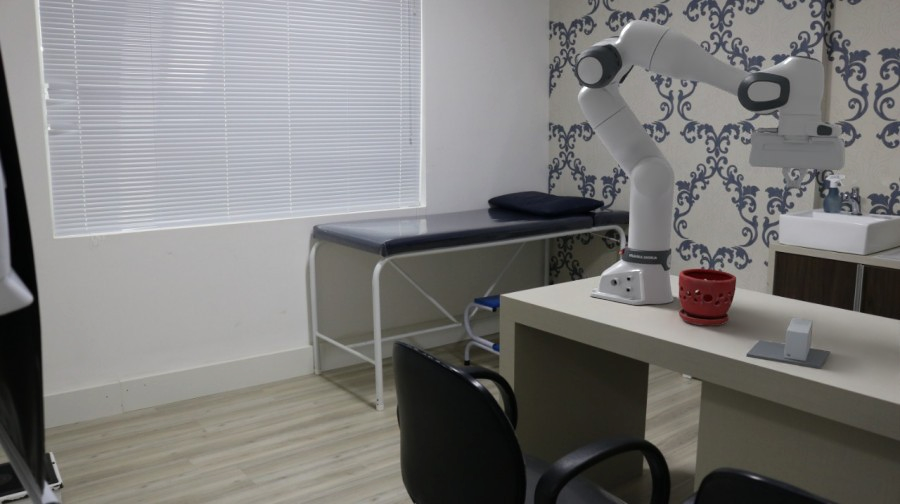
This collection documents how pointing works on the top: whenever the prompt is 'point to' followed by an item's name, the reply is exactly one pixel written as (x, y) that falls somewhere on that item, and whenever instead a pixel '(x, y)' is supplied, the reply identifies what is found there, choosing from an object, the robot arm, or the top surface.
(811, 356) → the slate mat
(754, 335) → the top surface
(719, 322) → the plant pot
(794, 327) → the skincare box
